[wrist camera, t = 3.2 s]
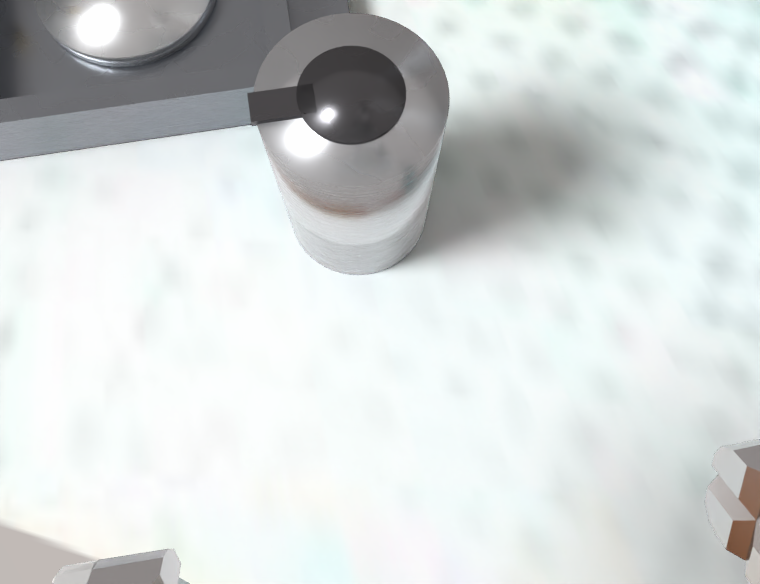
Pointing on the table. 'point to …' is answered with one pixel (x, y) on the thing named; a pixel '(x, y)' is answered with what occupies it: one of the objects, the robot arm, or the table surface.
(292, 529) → the table surface
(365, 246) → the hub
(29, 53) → the shaft seat
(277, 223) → the table surface
